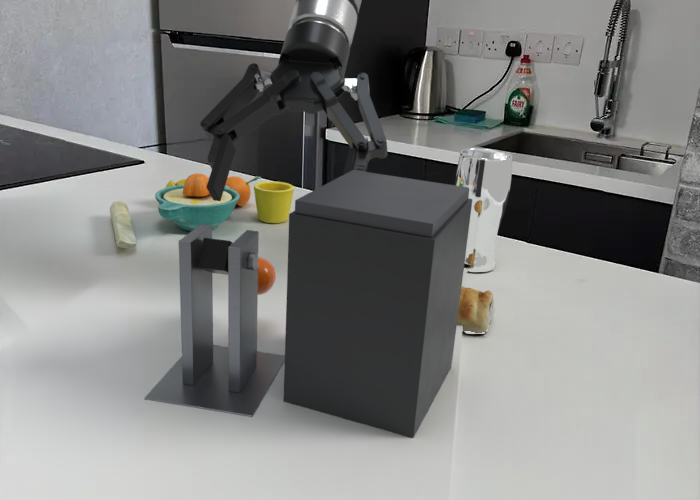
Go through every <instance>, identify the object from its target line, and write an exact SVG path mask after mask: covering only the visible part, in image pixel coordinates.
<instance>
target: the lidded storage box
mask: <svg viewBox="0 0 700 500" xmlns="http://www.w3.org/2000/svg"><path fill="white" fill-rule="evenodd" d="M468 196H469V188H468V187H462V186H455V184H448V183H443V182H442V183H441V182H436V181H435V182H434V181H428V180H421V179H414V178H409V177H401V176H395V175H389V174H381V173H377V172H369V171H366V172H363V171H356V170H352V171H350V172H348V173H346V174H344V175H343V174H342V175H341V176H339V177H337V178H334V179H333V180H331V181H329V182H327V183H325V184H323V185H322V186H319V187H318V188H315V189H313V190H312V191H310V192H308V193H306V194H304V195H302V196H300V197H299V198H297V199H295V200H294V201H295V203H294V210H293V211H291V212H289V217H288V243H287V270H286V271H287V275H286V276H287V277H286V304H285V305H286V306H285V307H286V308H285V309H286V312H285V341H284V355H285V362H284V371H283V372H284V374H283V403H285V404H287V403H288V404H290V405H293V406H298V407H301V408H305V409H308V410H312V411H315V412H318V413H322V414H326V415H329V416H334V417H336V418H340V419H343V420H347V421H350V422H354V423H356V424H357V423H358V424H361V425H364V426H368V427H372V428H374V429H379V430H382V431H386V432H390V433H393V434H396V435H400V436H403V437H407V438H410V439H414V438H415V436H416V434H417V433H418V431H419V429H420V427H421V425H422V424H423V422H424V419H425V417H426V416H427V415H428V412H429V410H430V408H431V406H432V404H433V403H434V400H435V399H436V397H437V395H438V393H439V391H440V390H441V387H442V386H443V384H444V382H445V380H446V378H447V376H448V375H449V373H450V371H451V369H452V365H453V359H454V357H453V356H454V350H455V340H456V334H457V333H456V332H457V327H458V326H457V325H458V324H457V318H458V310H459V302H460V294H461V287H462V286H463V278H464V271H465V270H464V263H465V255H466V247H467V239H468V231H469V223H470V215H471V207H472V199H469V198H468Z"/></svg>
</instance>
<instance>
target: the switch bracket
mask: <svg viewBox="0 0 700 500" xmlns="http://www.w3.org/2000/svg"><path fill="white" fill-rule="evenodd" d="M259 235H260V234H259V231H258V230H251V229H247V230H245V231H244V232H243V233H242V234H241V235H240V236H238V237H237V239H235V240H234V241H232V244H231V245H230V246H229V247H228V275H227V279H228V284H227V285H228V287H227V288H228V289H227V292H228V295H227V298H228V299H227V301H228V303H227V304H228V305H227V307H228V308H227V311H228V312H227V315H228V319H227V320H228V321H227V324H228V327H227V329H228V334H227V335H228V336H227V337H228V345H227V346H226V345H225V346H224V345H217V344H216V345H215V344H214V309H213V308H214V302H213V301H214V300H213V298H214V297H213V296H214V291H213V290H214V288H213V273H210V272H208V271H206V270H203V269H201V268H199V261H200V256H201V250H202V245H203V239H204V238H211V239H213V230H212V226H210V225H200V226H198V227H197V228H196V229H194V230H193V231H189V233H188V234H185V235H184V237H182V238H180V239H179V240H178V262H179V263H178V265H179V266H178V267H179V302H180V336H181V337H180V338H181V339H180V340H181V356H180V357H179V358H178V360H177V361H176V362H175V363H174V364H173V365H172V367H171V368H169V370H168V371H167V372H166V374H164V376H163V377H162V378H161V379H160V380H159V381H158V382H157V383H156V384H155V386H154V387H153V388H152V389H151V390H150V391H149V393H148V394H147V395H146V396H145V397H144V400H145V401H151V402H157V403H163V404H170V405H175V406H182V407H186V408H187V407H188V408H193V409H194V408H195V409H199V410H204V411H205V410H206V411H213V412H218V413H224V414H229V415H235V416H241V417H248V418H253V417H254V415H255V413H256V412H257V410H258V409H259V406H260V405H261V403H262V401H263V400H264V398H265V396H266V395H267V393H268V391H269V389H270V388H271V386H272V385H273V382H274V380H275V379H276V378H277V376H278V374H279V372H280V370H281V368H282V367H283V365H284V364H285V354H278V353H271V352H270V353H269V352H265V351H258V300H259V299H258V297H259V295H258V257H259Z"/></svg>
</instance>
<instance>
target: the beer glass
mask: <svg viewBox="0 0 700 500" xmlns="http://www.w3.org/2000/svg"><path fill="white" fill-rule="evenodd" d="M513 159H514V156H513V154H511V153H509V152H507V151H503V150H499V149H491V148H482V147H469V148H463V149H461V150H460V152H459V158H458V163H457V167H456V172H455V179H454V185H455V186H462V187H468V188H469V196H468V198H469V199H472V207H471V215H470V223H469V231H468V239H467V247H466V255H465V263H464V268H466V269H473V270H483V269H489V268H492V267H494V266H495V267H496V241H497V236H498V234H499V231H500V227H501V224H502V221H503V218H504V215H505V212H506V208H507V206H508V202H509V197H510V192H511V185H512V175H513Z"/></svg>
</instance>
